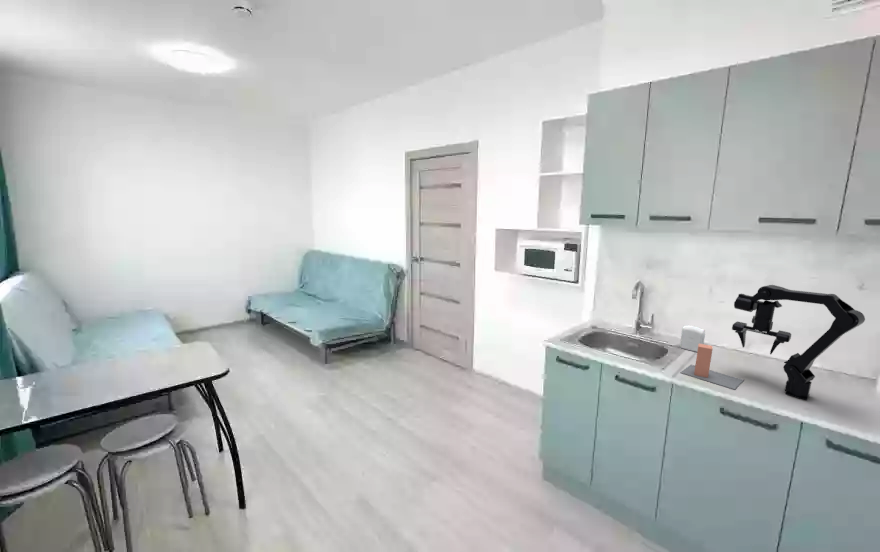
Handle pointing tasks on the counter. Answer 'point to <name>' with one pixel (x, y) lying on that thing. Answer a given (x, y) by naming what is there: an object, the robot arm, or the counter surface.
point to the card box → (703, 360)
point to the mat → (715, 378)
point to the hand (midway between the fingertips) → (756, 350)
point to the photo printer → (692, 337)
